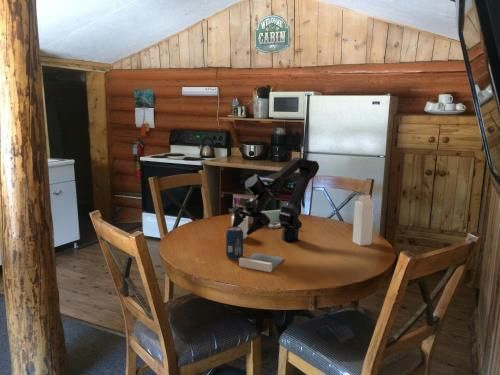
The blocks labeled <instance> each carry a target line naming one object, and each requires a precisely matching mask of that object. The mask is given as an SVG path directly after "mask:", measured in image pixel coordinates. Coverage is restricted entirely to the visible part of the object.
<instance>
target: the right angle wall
mask: <svg viewBox="0 0 500 375" xmlns="http://www.w3.org/2000/svg"><path fill="white" fill-rule="evenodd" d="M280 211H281V209H274V210H265V211H264V210H263V211H262V213H265V214H266V215H267V216H268V218H269V219H270V224H269V225H268V226H267V228H269V229H279V228H281V227H282V226H281V224H280V221H279V213H280Z"/></svg>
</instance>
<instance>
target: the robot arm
mask: <svg viewBox="0 0 500 375" xmlns="http://www.w3.org/2000/svg"><path fill="white" fill-rule="evenodd" d="M319 169H320V166H319V162H318V161H316V160H311V159H305V158H303V157H298V156H297V157H296V156H295V157H293V158H292V159H291V160H290V161H289V162H288V163H287V164H285V165H284V166H283V167H282V168H280V169H279V170H278V171H277V172H275V173H271V174H269V175H266V176H265V177H264V178H263V179H261V177H260V176H259V175H258V174H254V175H253V176H251V177H249V178H247V179H246V181H245V183H244V185H245V187H246V188H247V190H248V191H249V192H250V193H251V194H252V196H254V199H253V198H251V199H250V200H249V199H245V198H240V201H239V203H238V205H242V206H244V209H246V211H245V210H244V209H243V208H242V207H240V206H237V205H236V206H234V207H233V206H232V207H231V211H232V214H233V213H234V221H233V225H232V224H231V227H238V226H239V225H240V224H241V223H242V222H243V221H244V218H246V216H248V217H251V218H253V223H252V224H251V223H250V226H249V227H248V231H247V233H246V234H247V236H249V235H251V234H253V233H255V232H256V231H258V230H260V229H262V228H266V227H268V225H269V224H270V219H269V218H268V216H267V215H266V214H265V213H262V212H264V211H266V209H267V208H266V206H267V205H268V203H269V201H270V200H272V201H274V200H275V196H274V193H271V192H276V193H277V192H278V191H280V190H281V188H282V187H283V186H284V184H285V181H286V180H287V179H288V178H290V177H291V176H292V175H293V174H294V173H296V172H297V171H298V172H299V177H298V180H297V182H296V185H295V187H294V189H293V192H292V195H291V196H290V198H289V202H288V204H287V205H282V206H281V209H280V210H281V211H280V213H279V221H280V224H281V227H283V228H282V230H281V231H282V232H281V239H282V240H283V241H285V242H286V243H291V242H292V243H293V242H300V241H301V240H300V238H299V230H300V229H301V228H302V227H303V222H302V221H301V220H300V219H299V217H300V212H299V211H300V210H299V207H300V205H301V202H302V200H303V198H304V195H305V193H306V190H307V188H308V186H309V183H310V181H311V180H312V179H313V178H314V177H316V176H317V174H318V172H319ZM270 191H271V192H270Z"/></svg>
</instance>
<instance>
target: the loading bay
mask: <svg viewBox="0 0 500 375" xmlns="http://www.w3.org/2000/svg"><path fill="white" fill-rule="evenodd" d="M284 260H285V257H283V256H282V257H281V256H275V255H270V254H263V253H258V252H254V253H253V254H251V255H250V256H248V257H247V258H246V257H243V256H242V257H241V258H239V259H238V266H239V267H242V268H247V269H252V270H256V271H257V270H258V271H261V272H267V273H271V272H272V271H274V270H275V269H276V268H277V267H279V265H280V264H281V263H283V261H284Z"/></svg>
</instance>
